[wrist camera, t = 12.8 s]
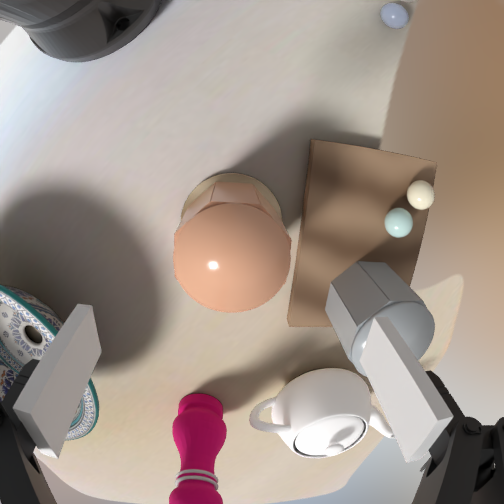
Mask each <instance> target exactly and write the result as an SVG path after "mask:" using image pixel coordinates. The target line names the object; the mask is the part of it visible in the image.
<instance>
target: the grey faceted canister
mask: <svg viewBox="0 0 504 504" xmlns="http://www.w3.org/2000/svg"><path fill="white" fill-rule="evenodd" d="M325 311H326V313H327V315H328V317H329V319H330V321H331V324H332V326H333V328H334V330H335V332H336V334H337V336H338V338H339V340H340V343H341V345H342V347H343V349H344V351H345V353H346V355H347V357H348V359H349V360H350V361H351V362H352V363H353V364H354V365H355V368H356V369H357V370H358V372H359V373H361V374H362V375H364V376H366V377H367V375H366V373H365V371H364V369H363V367H362V365H361V363H360V358H361V355H362V352H363V350H364V347H365V344H366V341H367V338H368V335H369V332H370V329H371V325H372V322H373V319H374V317H388V318H389V320H390V321H391V322H392V324H393V325H394V327H395V328H396V329H397V331H398V332H399V334H400V335H401V337H402V338H403V339H404V341H405V342H406V344H407V345H408V347H409V348H410V350H411V351H412V353H413V354H414V356H415V357H416V359H417V360H419V359H420V358H421V357H422V356H423V355H424V353H425V352H426V350H427V349H428V347H429V345H430V343H431V341H432V339H433V335H434V330H435V323H434V319H433V316H432V314H431V313H430V312H429V310H428V309H427V307H426V305H425V304H424V302H423V300H422V299H421V298H420V297H419V296H418V295H417V294H416V293H415V292H414V291H413V290H412V289H411V288H410V287H409V286H408V285H407V284H406V283H405V282H404V281H403V280H402V279H401V278H400V277H399V276H398V275H397V274H396V273H395V272H394V271H393V270H392V269H391V268H390V267H389V266H388V265H387V264H386V263H384V262H364V261H357V262H355V263H354V264H353V265H351V266H350V267H349V268H348V269H346V270H345V271H344V272H343V273H341V274H340V275H339V276H338V277H336V278H335V279H334V280H332V281H331V283H330V288H329V293H328V298H327V302H326V307H325Z"/></svg>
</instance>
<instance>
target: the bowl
mask: <svg viewBox="0 0 504 504" xmlns="http://www.w3.org/2000/svg"><path fill="white" fill-rule="evenodd" d="M27 325H30V326H33V327H35V328H36V329H37V330H38V331H39V332H40V334H41V336H42V342H41V343H35V342H33V341H31V340H30V339H29V338H28V337H27V335H26V333H25V326H27ZM63 325H64V324H63V322H62V321H61V320H60V318H59V317H58V316H57V314H56V313H55V312H54V311H53V310H52V309H51V308H50V307H49V306H47V305H46V304H45V303H43V302H41V301H40V300H39V299H37V298H36V297H34V296H32V295H31V294H29V293H27V292H25V291H22V290H20V289H17V288H13V287H8V286H2V285H0V402H2V400H3V399H4V397H5V395H6V394H7V392H8V390H9V389H10V387H11V385H12V384H13V383H14V380H15V379H16V377H17V376H18V374H19V372H20V371H21V369H22V368H23V366H24V365H25V364H26V363H28V362H29V361H30V360H32V359H37V360H41V358H42V357H43V355H44V354H45V352H46V350H47V349H48V347H49V346H50V344H51V343H52V341H53V340H54V338H55V337H56V335H57V334H58V332H59V331H60V329H61V328H62V326H63ZM98 416H99V401H98V396H97V393H96V390H95V387H94V384H93V382H92V380H91V378H90V379H89V381H88V384H87V386H86V388H85V391H84V393H83V396H82V398H81V400H80V403H79V405H78V408H77V410H76V413H75V415H74V418H73V420H72V423H71V425H70V428H69V431H68V433H67V436H66V438H65V440H74V439H78V438H81V437H83V436H85V435H87V434H88V433H89V432H91V431H92V429H93V428H94V427H95V425H96V423H97V420H98Z"/></svg>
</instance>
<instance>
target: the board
mask: <svg viewBox="0 0 504 504" xmlns="http://www.w3.org/2000/svg"><path fill="white" fill-rule="evenodd" d="M436 166H437V162H433V161H429V160H425V159H421V158H416V157H412V156H407V155H403V154H398V153H393V152H388V151H382V150H377V149H372V148H366V147H361V146H355V145H348V144H342V143H336V142H329V141H322V140H314V139H311V143H310V152H309V161H308V170H307V179H306V187H305V195H304V203H303V211H302V219H301V227H300V234H299V241H298V249H297V256H296V263H295V270H294V276H293V283H292V289H291V296H290V302H289V309H288V315H287V321H288V324H289V327H333V326H332V324H331V321H330V319H329V317H328V315H327V313H326V311H325V307H326V302H327V298H328V293H329V288H330V283H331V281H332V280H334V279H335V278H336V277H338V276H339V275H340V274H341V273H343V272H344V271H345V270H346V269H348V268H349V267H350V266H351V265H353V264H354V263H355V262H357V261H364V262H384V263H386V264H387V265H388V266H389V267H390V268H391V269H392V270H393V271H394V272H395V273H396V274H397V275H398V276H399V277H400V278H401V279H402V280H403V281H404V282H405V283H406V284H407V285H408V286H409V287H410V284H411V280H412V277H413V273H414V270H415V266H416V262H417V258H418V254H419V251H420V246H421V242H422V238H423V234H424V230H425V225H426V221H427V216H428V211H429V208H427V209H424V210H419V209H416V208H414V207H413V206H412V205H411V204H410V203H409V201H408V199H407V190H408V187H409V186H410V184H412V183H413V182H414V181H417V180H423V181H426V182H428V183H429V184H430V185H431V186H432V188H433V185H434V179H435V172H436ZM394 208H403V209H405V210H407V211H408V212H409V213H410V215H411V216H412V219H413V227H412V230H411V231H410V233H409V234H408V235H406V236H405V237H401V238H397V237H393V236H392V235H390V234H389V233H388V232H387V230H386V228H385V223H384V222H385V217H386V215H387V213H388V212H389V211H390V210H392V209H394Z"/></svg>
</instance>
